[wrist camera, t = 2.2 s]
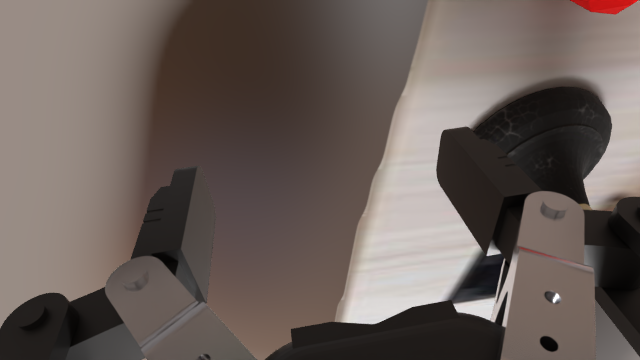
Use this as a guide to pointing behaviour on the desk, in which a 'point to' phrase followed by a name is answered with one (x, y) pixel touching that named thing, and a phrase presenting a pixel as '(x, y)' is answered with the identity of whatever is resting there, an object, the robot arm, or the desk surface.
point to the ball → (605, 5)
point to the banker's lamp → (553, 138)
